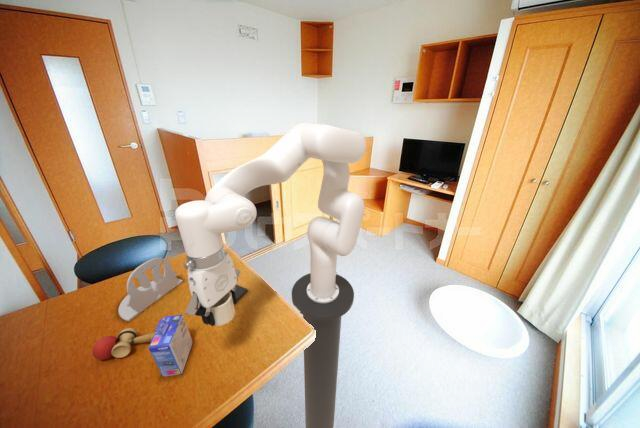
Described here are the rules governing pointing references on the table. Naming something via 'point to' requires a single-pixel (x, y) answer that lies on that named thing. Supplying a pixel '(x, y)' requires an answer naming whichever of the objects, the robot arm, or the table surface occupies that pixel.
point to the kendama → (119, 344)
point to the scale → (238, 293)
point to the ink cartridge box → (171, 345)
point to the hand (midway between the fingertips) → (221, 311)
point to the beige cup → (223, 310)
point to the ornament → (147, 287)
